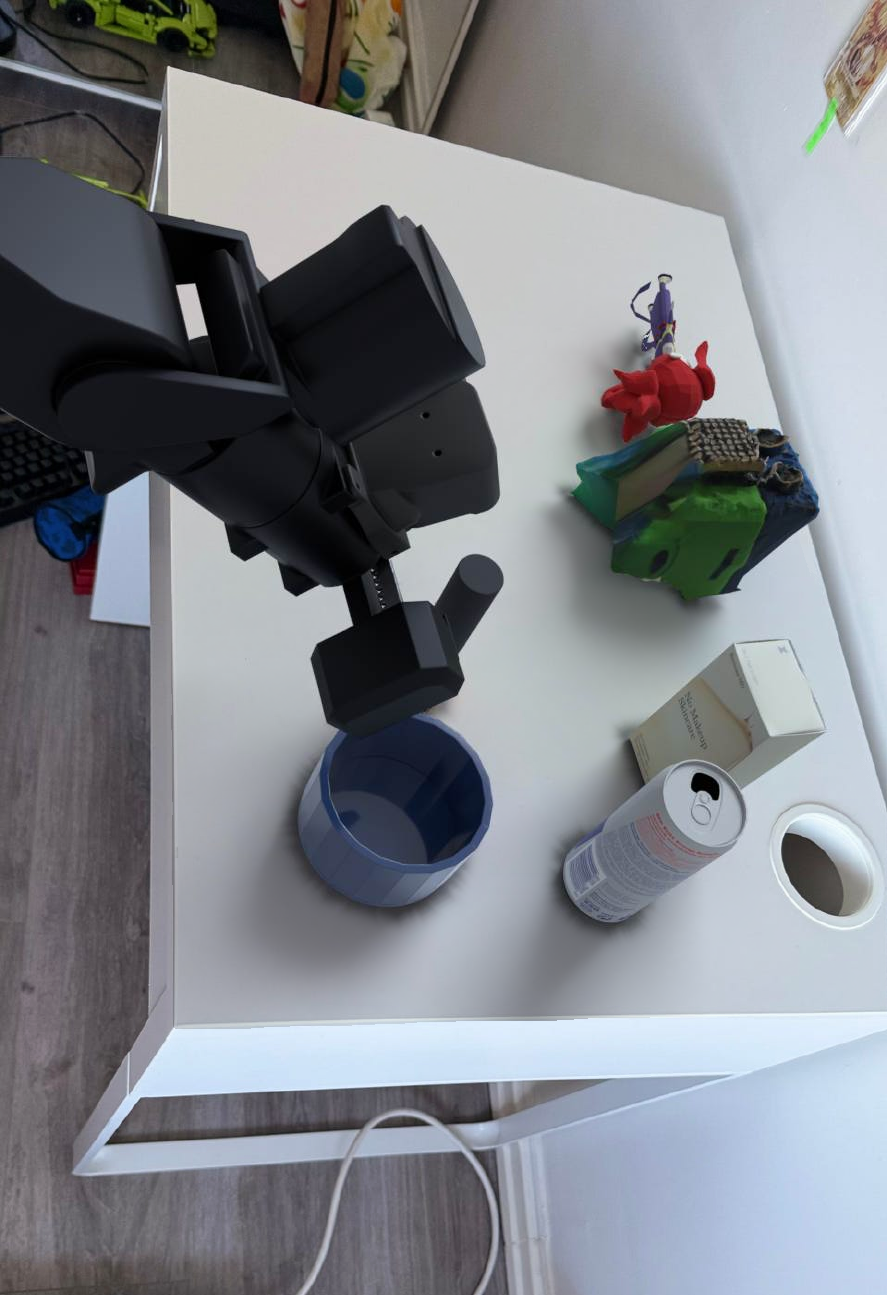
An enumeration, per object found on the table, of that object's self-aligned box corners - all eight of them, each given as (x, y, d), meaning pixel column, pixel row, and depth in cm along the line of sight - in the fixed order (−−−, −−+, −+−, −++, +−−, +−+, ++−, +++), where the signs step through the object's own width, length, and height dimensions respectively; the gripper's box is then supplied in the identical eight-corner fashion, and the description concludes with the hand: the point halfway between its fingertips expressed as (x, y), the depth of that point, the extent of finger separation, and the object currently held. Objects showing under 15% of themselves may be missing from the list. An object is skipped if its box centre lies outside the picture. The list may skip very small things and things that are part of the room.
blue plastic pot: (279, 878, 60) (300, 841, 55) (319, 731, 64) (342, 685, 60) (442, 927, 62) (477, 895, 57) (470, 781, 66) (504, 741, 62)
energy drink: (646, 859, 68) (756, 778, 58) (632, 937, 65) (745, 866, 55) (569, 828, 67) (667, 740, 57) (552, 905, 64) (651, 827, 54)
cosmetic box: (626, 735, 72) (728, 637, 61) (682, 730, 73) (790, 633, 63) (657, 823, 70) (768, 737, 59) (714, 815, 71) (831, 730, 61)
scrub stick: (379, 700, 66) (443, 588, 56) (390, 653, 68) (455, 536, 58) (434, 719, 67) (507, 612, 57) (444, 672, 69) (517, 559, 59)
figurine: (685, 327, 91) (701, 468, 84) (585, 317, 90) (593, 458, 83) (711, 261, 85) (730, 406, 79) (604, 249, 84) (615, 395, 78)
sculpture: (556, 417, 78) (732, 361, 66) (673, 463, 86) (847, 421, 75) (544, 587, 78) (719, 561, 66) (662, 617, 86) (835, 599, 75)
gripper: (499, 567, 39) (619, 693, 53) (374, 191, 45) (510, 391, 59) (245, 692, 43) (420, 779, 56) (162, 327, 49) (337, 486, 63)
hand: (425, 601), depth 59 cm, fingers open, 9 cm apart
